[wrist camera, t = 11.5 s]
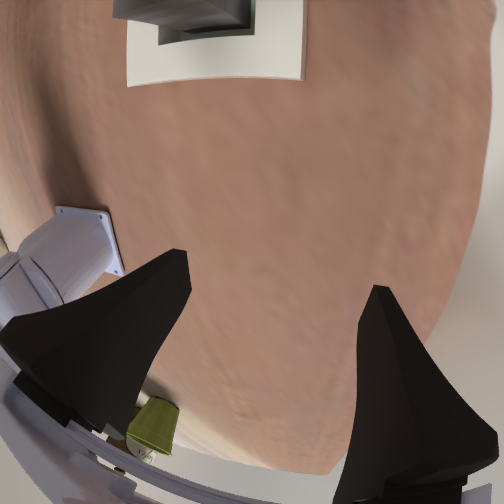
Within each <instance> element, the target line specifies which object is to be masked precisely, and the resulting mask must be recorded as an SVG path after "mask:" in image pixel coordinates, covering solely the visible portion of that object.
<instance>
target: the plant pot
mask: <svg viewBox="0 0 504 504" xmlns="http://www.w3.org/2000/svg"><path fill="white" fill-rule="evenodd" d="M178 416H179V410H178V409H176V407H175V406H174V405H173V404H171V403H169V402H167V401H166V400H163V399H160V398H158V399H157V398H155V397H150V399H149V400H148V401H147V403H146V404H145V405H144V407H143V408H142V409H141V411H140V412H139V413H138V414H137V416H136V417H135V418H134V420H133V421H132V422H131V423H130V424H129V427H128V431H127V435H126V436H127V437H129V438H130V439H132V440H134V441H135V442H137V443H139V444H141V445H143V446H145V447H147V448H149V449H151V450H154V451H156V452H159V453H161V454H164V455H167V456H172V454H171V449H172V441H173V437H174V432H175V428H176V424H177V420H178Z"/></svg>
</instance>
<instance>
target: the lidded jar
mask: <svg viewBox="0 0 504 504" xmlns="http://www.w3.org/2000/svg"><path fill="white" fill-rule="evenodd" d="M7 252H9V251H8V249H7V247H6V245H5V243H4V242H3V240H2V239H1V238H0V258H1V257H2V256H3V255H4V254H6V253H7Z"/></svg>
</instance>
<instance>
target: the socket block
mask: <svg viewBox="0 0 504 504" xmlns="http://www.w3.org/2000/svg"><path fill="white" fill-rule="evenodd" d="M307 13H308V0H251V27H250V29H234V30H222V31H212V32H204V33H196V34H190V33H187V32H183V31H179V30H175V29H171V28H167V27H163V26H158V25H154V24H149V23H144V22H138V21H132V20H128V28H127V87H131V86H139V85H149V84H157V83H165V82H173V81H183V80H195V79H212V78H270V79H286V80H299V81H305V67H306V45H307Z"/></svg>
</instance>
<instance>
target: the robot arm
mask: <svg viewBox="0 0 504 504" xmlns="http://www.w3.org/2000/svg"><path fill="white" fill-rule="evenodd" d="M55 211H56V215H55V216H54V217H53V218H51V219H50V220H49V221H47V222H46V223H44V224H43V225H42V226H40V227H39V228H38V229H36V230H35V231H34V232H33V233H31V234H30V235H29V236H27V237H26V238H25V239H24V240H23V241H22V243H21V244H20V246H19V248H18V251H17V252H11V251H9V252H7V253H6V254H4V255H3V256H2V257H1V258H0V435H1V437H2V439H3V440H4V442H5V443H6V445H7V446H8V448H9V449H10V450H11V452H12V453H13V455H14V457H15V458H16V459H17V461H18V462H19V463H20V465H21V466H22V468H23V469H24V470H25V471H26V473H27V474H28V475H29V477H30V478H31V479H32V480H33V481H34V483H35V484H36V485H37V486H38V487H39V489H40V490H41V491H42V492H43V493H44V494H45V495H46V496H47V497H48V498H49V500H50V501H51V502H52V503H53V504H162V503H160V502H158V501H155V500H153V499H151V498H148V497H146V496H144V495H142V494H139V493H137V492H135V491H134V490H135V489H136V486H137V483H136V482H134V481H132V480H131V479H129V478H127V477H125V476H124V475H122V474H120V473H118V472H116V471H114V470H113V469H111V468H109V467H107V466H105V465H103V464H101V463H99V462H98V460H97V456H96V455H98V456H100V457H101V458H103V459H105V460H106V461H108V462H110V463H112V464H113V465H115V466H117V467H118V468H120V469H122V470H124V471H126V472H128V473H129V474H131V475H133V476H135V477H137V478H139V479H141V480H144V481H146V482H148V483H150V484H152V485H154V486H157V487H159V488H161V489H163V490H166V491H168V492H171V493H173V494H176V495H178V496H181V497H184V498H186V499H189V500H192V501H195V502H198V503H201V504H278V503H273V502H266V501H262V500H256V499H252V498H247V497H243V496H239V495H234V494H231V493H227V492H223V491H219V490H216V489H213V488H210V487H206V486H203V485H200V484H197V483H194V482H192V481H189V480H186V479H183V478H180V477H178V476H175V475H173V474H170V473H168V472H166V471H163V470H161V469H159V468H156V467H154V466H152V465H150V464H147V463H145V462H143V461H141V460H139V459H137V458H135V457H133V456H131V455H129V454H127V453H125V452H123V451H122V450H120V449H118V448H116V447H114V446H112V445H111V444H109V443H107V442H106V441H104V440H102V439H101V438H99V437H97V436H95V435H94V434H92V433H91V432H92V430H94V431H96V432H98V433H99V434H100V433H102V432H104V433H105V434H107V435H109V436H111V437H112V438H114V439H116V440H123V439H125V438H126V435H127V431H128V427H129V423H130V420H131V416H132V413H133V410H134V407H135V404H136V401H137V398H138V395H139V393H140V390H141V387H142V385H143V382H144V380H145V377H146V375H147V373H148V371H149V368H150V366H151V364H152V362H153V359H154V358H155V356H156V354H157V352H158V350H159V349H160V347H161V345H162V344H163V342H164V340H165V339H166V337H167V336H168V334H169V332H170V331H171V329H172V327H173V326H174V324H175V323H176V321H177V319H178V318H179V316H180V314H181V313H182V311H183V309H184V307H185V305H186V302H187V300H188V298H189V295H190V293H191V291H192V288H191V281H190V274H189V267H188V259H187V252H186V251H184V250H178V249H171V250H169V251H167V252H165V253H163V254H162V255H160V256H158V257H156V258H155V259H153V260H151V261H150V262H148V263H146V264H145V265H143V266H141V267H140V268H138V269H136V270H135V271H133V272H131V273H129V274H128V275H126V276H124V277H122V278H120V279H119V280H117V281H115V282H113V283H111V284H110V285H108V286H106V287H104V288H102V289H100V290H98V291H95V292H93V293H91V294H89V295H87V296H84V297H82V298H80V297H81V296H82V295H83V294H84V292H85V291H86V290H87V289H88V288H89V287H90V286H91V285H92V284H93V283H94V282H95V281H96V280H97V279H98V277H99V276H100V275H101V274H102V273H103V272H104V271H105V272H108V273H112V274H115V275H119V276H123V275H124V269H123V266H122V262H121V259H120V255H119V252H118V248H117V244H116V241H115V237H114V233H113V229H112V225H111V220H110V216H109V214H108V213H107V212H105V211H98V210H90V209H82V208H74V207H66V206H56V207H55ZM356 347H357V401H356V411H355V418H354V424H353V430H352V435H351V440H350V444H349V449H348V453H347V457H346V461H345V465H344V469H343V472H342V475H341V478H340V481H339V484H338V487H337V490H336V492H335V495H334V498H333V503H332V504H491V489H492V484H490V483H489V484H486V485H484V486H481V487H477V488H474V489H471V490H468V491H465V492H462V486H464V485H466V484H467V479H468V475H470V474H472V473H474V472H477V471H478V470H481V469H483V468H485V467H487V466H489V465H490V464H492V463H493V462H495V461H496V460H497V459H498V457H499V447H498V435H497V432H496V431H495V430H494V429H493V428H492V427H490V426H489V425H488V424H487V423H486V422H485V421H484V420H483V419H481V417H479V415H478V414H476V412H475V411H474V410H473V409H472V408H471V407H470V406H469V405H468V404H467V403H466V402H465V401H464V400H463V399H462V397H461V396H460V395H459V394H458V393H457V391H456V390H455V389H454V388H453V386H452V385H451V384H450V383H449V382H448V380H447V379H446V378H445V376H444V375H443V374H442V372H441V371H440V370H439V368H438V367H437V365H436V364H435V363H434V361H433V360H432V358H431V357H430V355H429V354H428V352H427V351H426V349H425V347H424V346H423V344H422V343H421V341H420V340H419V338H418V336H417V335H416V333H415V331H414V330H413V328H412V326H411V324H410V323H409V321H408V319H407V318H406V316H405V314H404V312H403V311H402V309H401V307H400V305H399V304H398V302H397V300H396V298H395V297H394V295H393V293H392V291H391V290H390V288H389V287H386V286H380V285H373V288H372V291H371V293H370V296H369V298H368V301H367V303H366V306H365V308H364V310H363V313H362V315H361V317H360V320H359V322H358V333H357V346H356Z"/></svg>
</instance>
